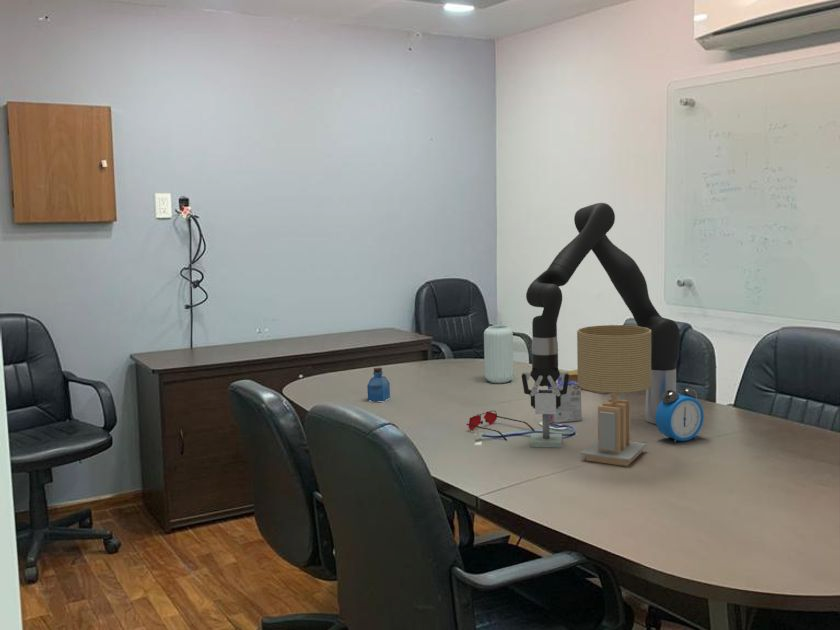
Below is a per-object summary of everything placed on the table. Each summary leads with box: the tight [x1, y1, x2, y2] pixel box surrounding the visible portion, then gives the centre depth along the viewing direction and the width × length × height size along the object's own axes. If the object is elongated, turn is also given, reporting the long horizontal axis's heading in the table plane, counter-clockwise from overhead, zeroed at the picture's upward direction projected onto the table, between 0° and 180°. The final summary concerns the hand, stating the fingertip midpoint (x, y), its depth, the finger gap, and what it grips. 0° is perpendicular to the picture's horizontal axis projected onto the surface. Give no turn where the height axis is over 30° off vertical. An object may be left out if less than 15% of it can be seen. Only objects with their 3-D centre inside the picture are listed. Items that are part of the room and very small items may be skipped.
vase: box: [483, 324, 514, 384], centre depth 320 cm, size 12×12×22 cm
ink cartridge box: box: [547, 376, 583, 424], centre depth 259 cm, size 10×6×14 cm, turn 102°
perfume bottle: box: [367, 367, 391, 402], centre depth 296 cm, size 6×6×12 cm
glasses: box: [466, 410, 536, 442], centre depth 250 cm, size 14×16×5 cm
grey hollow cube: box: [534, 388, 556, 415], centre depth 234 cm, size 6×6×6 cm
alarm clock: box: [655, 387, 705, 443], centre depth 233 cm, size 13×6×15 cm, turn 113°
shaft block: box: [529, 414, 563, 449], centre depth 235 cm, size 9×9×10 cm
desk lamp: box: [576, 324, 652, 467], centre depth 218 cm, size 20×20×35 cm
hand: (545, 407), depth 234 cm, fingers closed on grey hollow cube, 6 cm apart
